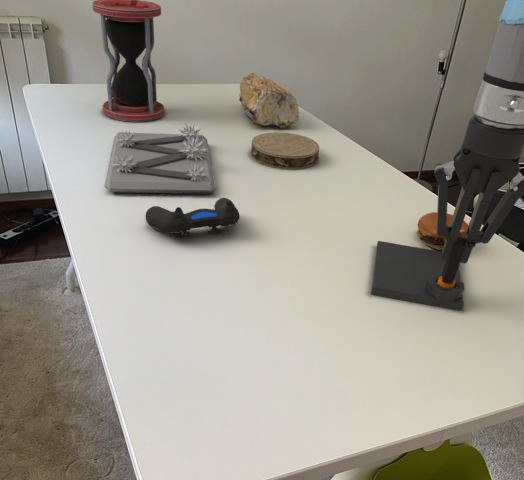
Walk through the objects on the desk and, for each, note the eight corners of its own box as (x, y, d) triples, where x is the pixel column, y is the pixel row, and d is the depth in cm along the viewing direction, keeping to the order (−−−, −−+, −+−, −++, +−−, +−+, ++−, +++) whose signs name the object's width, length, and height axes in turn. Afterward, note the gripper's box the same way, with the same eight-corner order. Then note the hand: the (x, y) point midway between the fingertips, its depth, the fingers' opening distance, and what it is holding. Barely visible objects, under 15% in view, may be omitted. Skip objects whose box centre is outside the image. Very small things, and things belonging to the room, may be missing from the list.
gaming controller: (147, 241, 99) (161, 237, 90) (141, 208, 98) (154, 201, 89) (233, 228, 105) (253, 223, 96) (228, 198, 104) (248, 190, 95)
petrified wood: (231, 106, 157) (240, 68, 152) (273, 116, 162) (283, 80, 157) (250, 126, 143) (260, 85, 137) (295, 136, 148) (307, 97, 142)
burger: (429, 224, 108) (436, 202, 105) (474, 242, 103) (482, 219, 100) (404, 241, 102) (411, 217, 99) (450, 260, 97) (458, 236, 94)
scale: (455, 261, 97) (460, 246, 95) (461, 311, 85) (467, 295, 83) (376, 247, 99) (379, 232, 97) (370, 295, 86) (374, 278, 84)
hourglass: (177, 115, 149) (175, 7, 133) (129, 126, 139) (120, 11, 123) (138, 100, 156) (132, -4, 140) (90, 110, 146) (78, -1, 131)
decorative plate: (115, 141, 129) (112, 110, 125) (206, 144, 133) (207, 113, 128) (105, 195, 107) (101, 158, 102) (215, 197, 110) (216, 161, 106)
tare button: (452, 286, 87) (455, 277, 86) (452, 295, 85) (456, 285, 84) (435, 283, 87) (438, 274, 86) (435, 292, 85) (439, 282, 84)
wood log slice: (305, 174, 123) (307, 161, 121) (240, 159, 127) (241, 146, 125) (325, 153, 135) (327, 140, 133) (265, 140, 138) (266, 128, 137)
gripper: (450, 120, 68) (404, 283, 83) (560, 136, 66) (492, 299, 81) (448, 104, 73) (404, 259, 88) (548, 119, 72) (487, 274, 87)
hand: (447, 278), depth 85 cm, fingers closed
